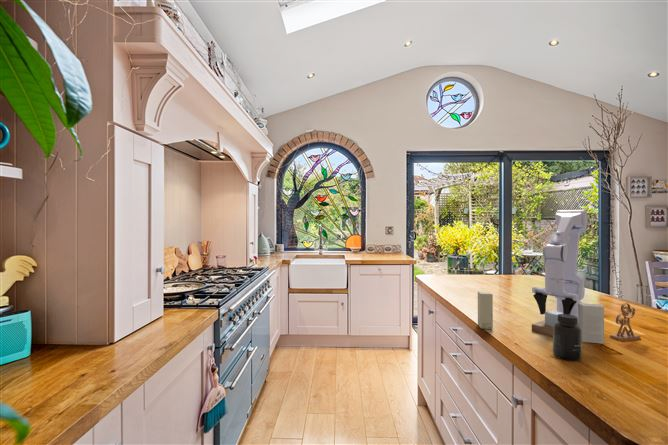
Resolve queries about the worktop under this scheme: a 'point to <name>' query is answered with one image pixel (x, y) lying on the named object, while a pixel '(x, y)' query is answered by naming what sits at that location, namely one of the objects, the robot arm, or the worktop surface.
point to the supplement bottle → (567, 338)
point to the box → (485, 310)
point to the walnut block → (542, 328)
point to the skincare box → (591, 322)
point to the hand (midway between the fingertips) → (554, 316)
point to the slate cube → (551, 318)
